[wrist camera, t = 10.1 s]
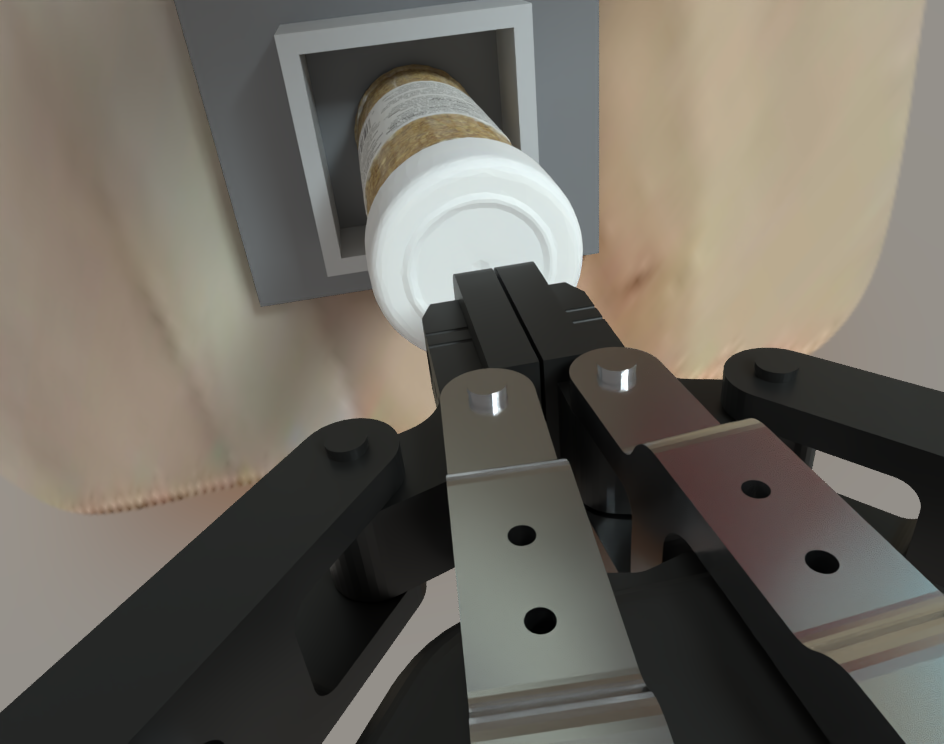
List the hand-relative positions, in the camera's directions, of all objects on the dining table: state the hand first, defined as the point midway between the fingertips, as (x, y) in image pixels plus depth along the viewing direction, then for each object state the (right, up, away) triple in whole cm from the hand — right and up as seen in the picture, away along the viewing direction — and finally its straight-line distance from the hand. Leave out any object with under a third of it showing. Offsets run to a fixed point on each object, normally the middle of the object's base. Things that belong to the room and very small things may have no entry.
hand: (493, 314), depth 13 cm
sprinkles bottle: (-2, +8, +13) cm, 15 cm away
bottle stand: (-3, +8, +13) cm, 16 cm away
